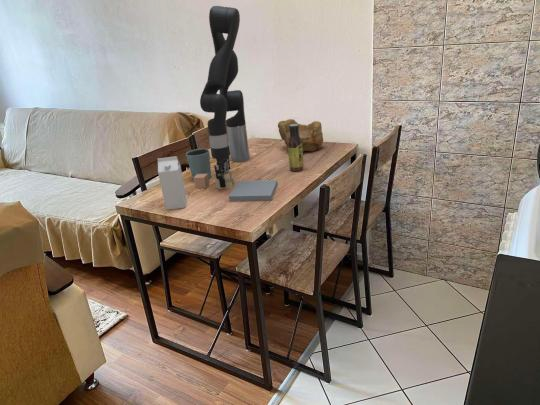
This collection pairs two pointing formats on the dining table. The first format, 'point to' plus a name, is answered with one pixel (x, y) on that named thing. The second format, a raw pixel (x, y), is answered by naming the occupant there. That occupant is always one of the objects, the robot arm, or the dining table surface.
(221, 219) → the dining table surface
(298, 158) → the sauce bottle
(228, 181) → the beech cube
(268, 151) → the dining table surface
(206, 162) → the teal cup
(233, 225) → the dining table surface
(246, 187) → the base board
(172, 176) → the milk carton
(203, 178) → the terracotta block
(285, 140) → the rough brown rock
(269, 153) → the dining table surface
